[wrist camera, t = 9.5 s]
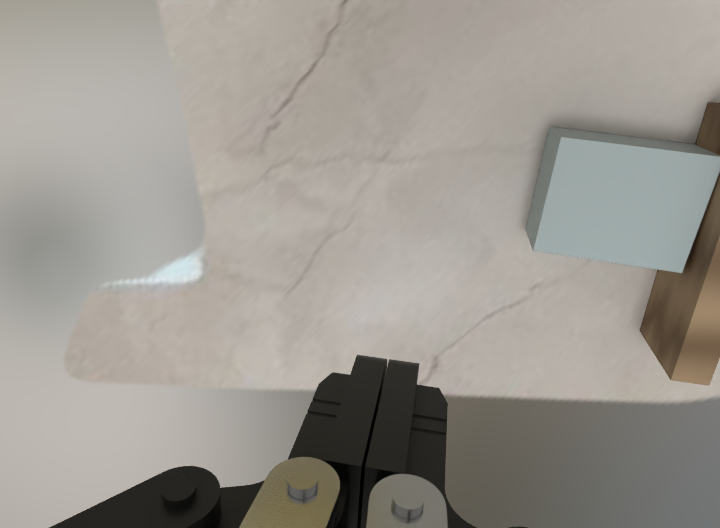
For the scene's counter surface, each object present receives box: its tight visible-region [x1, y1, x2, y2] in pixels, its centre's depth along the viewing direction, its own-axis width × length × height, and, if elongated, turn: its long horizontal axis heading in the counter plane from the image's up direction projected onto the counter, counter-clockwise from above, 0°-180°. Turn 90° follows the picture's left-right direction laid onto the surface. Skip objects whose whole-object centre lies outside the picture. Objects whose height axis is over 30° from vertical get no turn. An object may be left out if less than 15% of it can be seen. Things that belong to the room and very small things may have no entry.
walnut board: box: [640, 103, 720, 385], centre depth 37 cm, size 18×2×7 cm, turn 177°
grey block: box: [526, 127, 720, 273], centre depth 38 cm, size 8×10×5 cm
